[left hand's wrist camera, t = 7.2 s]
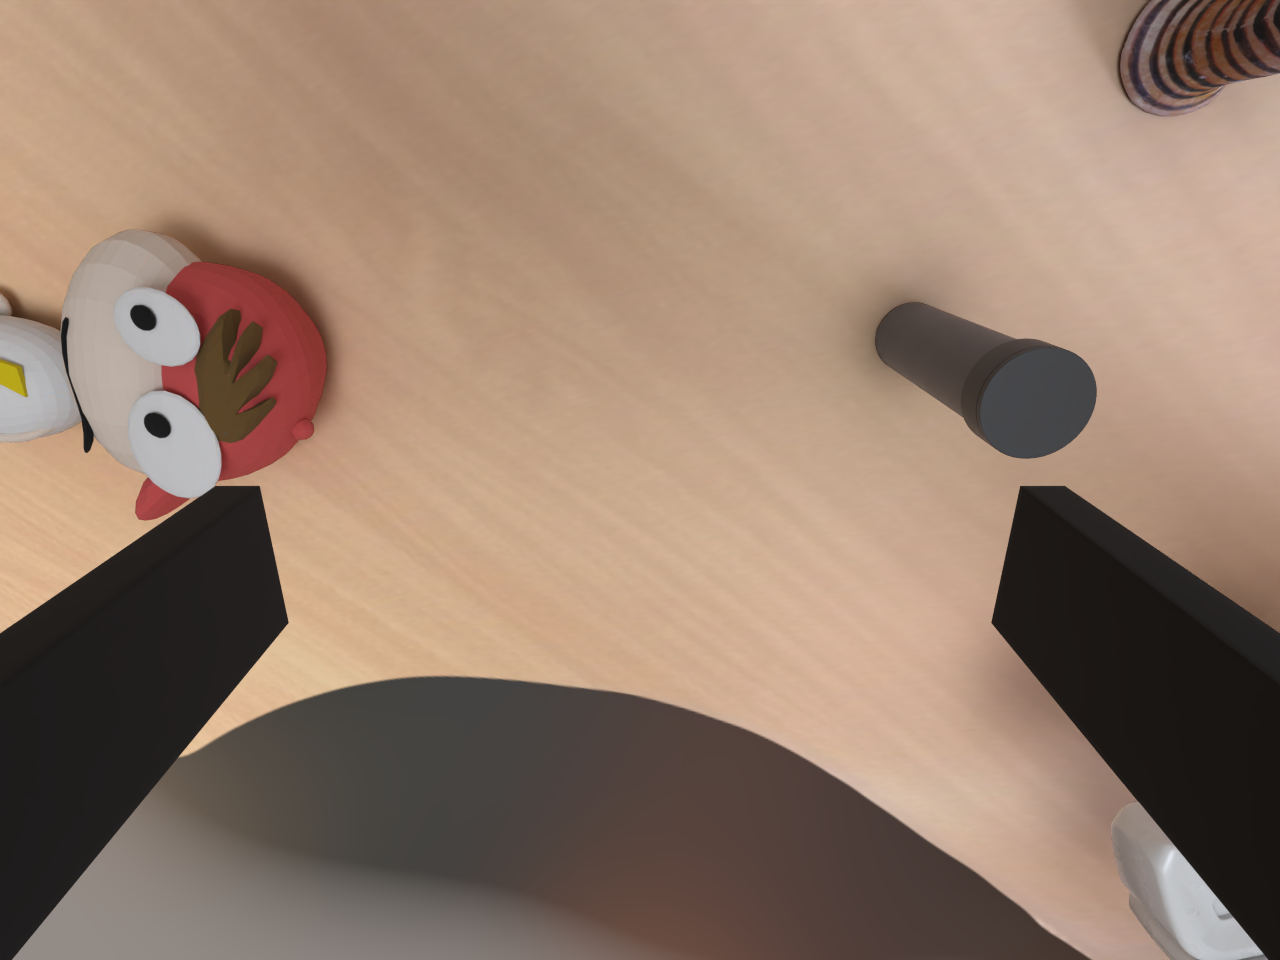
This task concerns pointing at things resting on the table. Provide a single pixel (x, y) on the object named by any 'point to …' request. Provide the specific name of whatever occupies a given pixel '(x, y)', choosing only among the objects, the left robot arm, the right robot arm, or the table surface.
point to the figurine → (1198, 51)
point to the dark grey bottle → (934, 349)
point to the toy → (165, 368)
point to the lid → (1028, 397)
